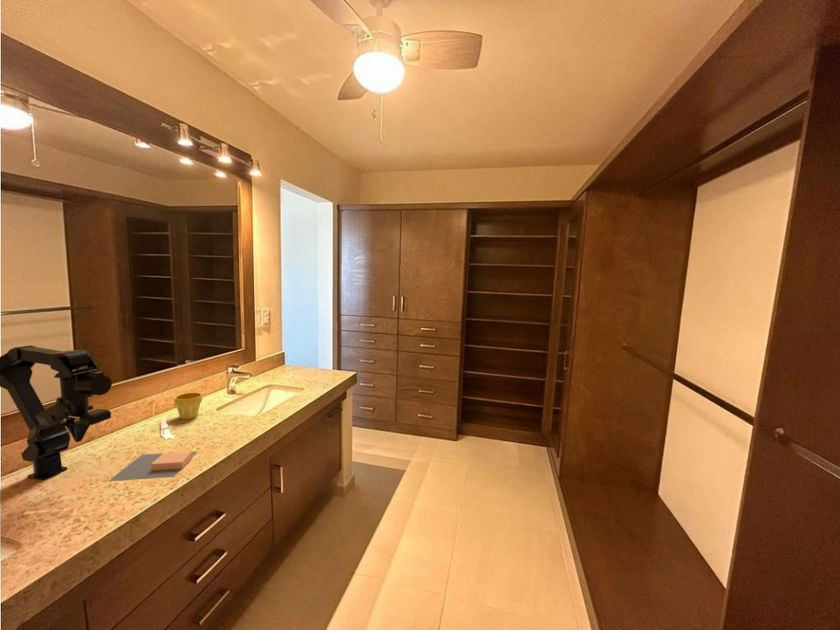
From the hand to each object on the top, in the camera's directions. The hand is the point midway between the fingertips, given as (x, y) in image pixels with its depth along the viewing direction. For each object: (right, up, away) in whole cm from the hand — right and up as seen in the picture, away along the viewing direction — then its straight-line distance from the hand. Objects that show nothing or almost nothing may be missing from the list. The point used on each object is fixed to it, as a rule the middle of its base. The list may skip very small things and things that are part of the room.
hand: (78, 441), depth 104 cm
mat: (+17, -12, +9) cm, 23 cm away
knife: (+5, -10, +33) cm, 35 cm away
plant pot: (0, -7, +50) cm, 50 cm away
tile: (+18, -10, +9) cm, 22 cm away
